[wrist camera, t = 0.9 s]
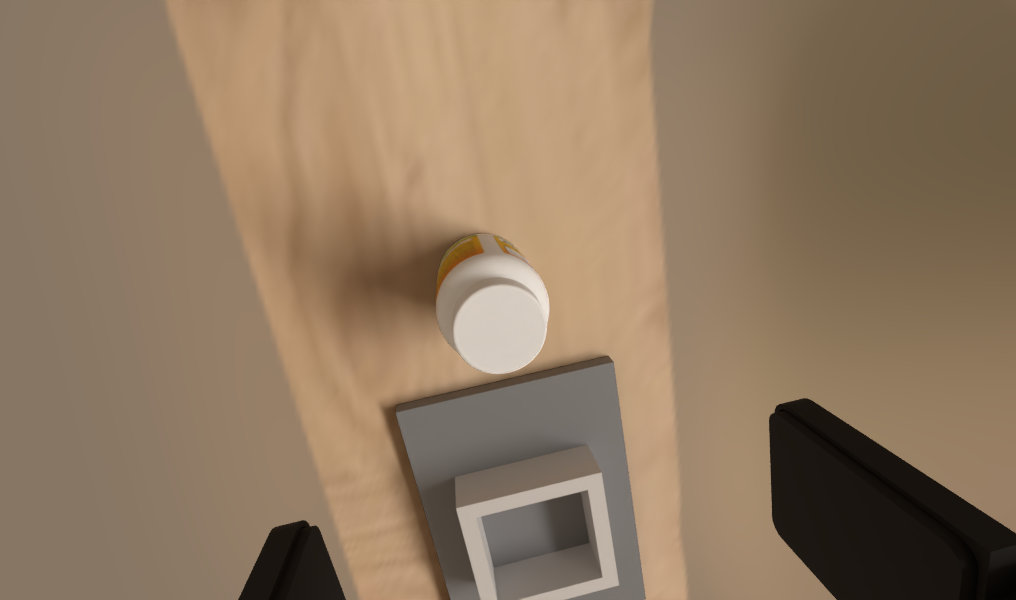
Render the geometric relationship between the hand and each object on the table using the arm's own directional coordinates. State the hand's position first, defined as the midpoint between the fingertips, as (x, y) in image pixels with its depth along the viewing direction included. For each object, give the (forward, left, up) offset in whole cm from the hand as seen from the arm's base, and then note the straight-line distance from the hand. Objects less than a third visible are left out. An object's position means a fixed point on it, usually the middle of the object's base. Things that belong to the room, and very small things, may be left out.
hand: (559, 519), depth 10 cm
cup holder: (+17, 0, -21) cm, 27 cm away
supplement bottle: (0, 0, -21) cm, 21 cm away
